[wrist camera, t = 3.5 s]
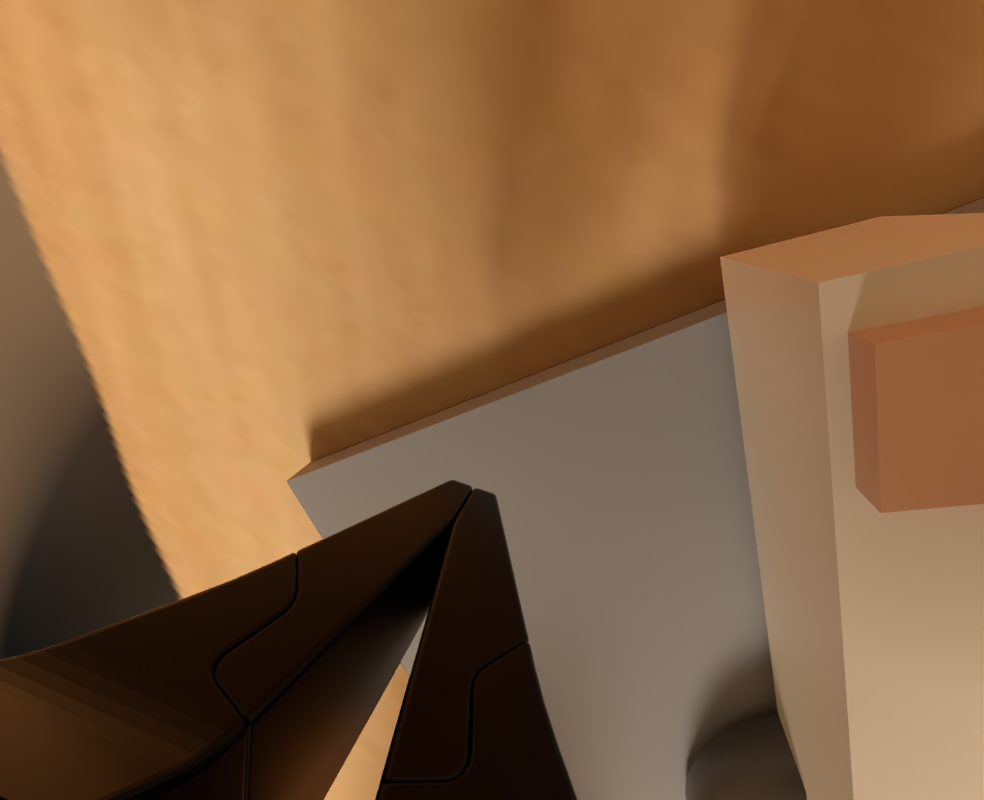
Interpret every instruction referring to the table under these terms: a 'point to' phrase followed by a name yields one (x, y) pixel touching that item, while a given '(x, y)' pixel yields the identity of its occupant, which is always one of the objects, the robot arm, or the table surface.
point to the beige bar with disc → (863, 511)
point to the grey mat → (606, 542)
